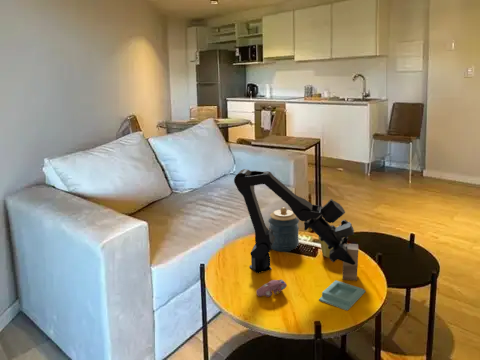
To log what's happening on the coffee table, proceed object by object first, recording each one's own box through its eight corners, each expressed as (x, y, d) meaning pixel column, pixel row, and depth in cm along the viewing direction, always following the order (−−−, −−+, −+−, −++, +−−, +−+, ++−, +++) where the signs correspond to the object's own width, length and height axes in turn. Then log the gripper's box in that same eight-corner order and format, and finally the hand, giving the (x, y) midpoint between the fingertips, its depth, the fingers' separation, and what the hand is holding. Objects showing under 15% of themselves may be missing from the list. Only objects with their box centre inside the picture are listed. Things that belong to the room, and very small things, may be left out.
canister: (291, 254, 171) (291, 214, 166) (263, 248, 178) (262, 209, 173) (303, 243, 182) (303, 205, 177) (276, 237, 188) (276, 200, 184)
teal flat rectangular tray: (347, 310, 131) (347, 304, 131) (319, 300, 138) (319, 294, 137) (365, 291, 142) (365, 286, 141) (338, 283, 148) (338, 277, 147)
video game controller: (260, 303, 140) (265, 291, 135) (254, 292, 142) (258, 280, 138) (285, 295, 144) (290, 283, 140) (278, 285, 147) (283, 272, 143)
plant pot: (341, 249, 175) (342, 227, 172) (345, 260, 165) (346, 237, 162) (317, 249, 176) (317, 227, 173) (319, 260, 166) (319, 237, 163)
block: (356, 280, 149) (358, 250, 146) (342, 279, 150) (343, 249, 147) (356, 274, 154) (358, 244, 151) (342, 272, 155) (343, 243, 152)
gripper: (340, 225, 138) (373, 259, 139) (341, 207, 156) (370, 237, 156) (316, 246, 142) (347, 278, 142) (319, 226, 160) (347, 254, 160)
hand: (354, 260), depth 150 cm, fingers closed on block, 5 cm apart
